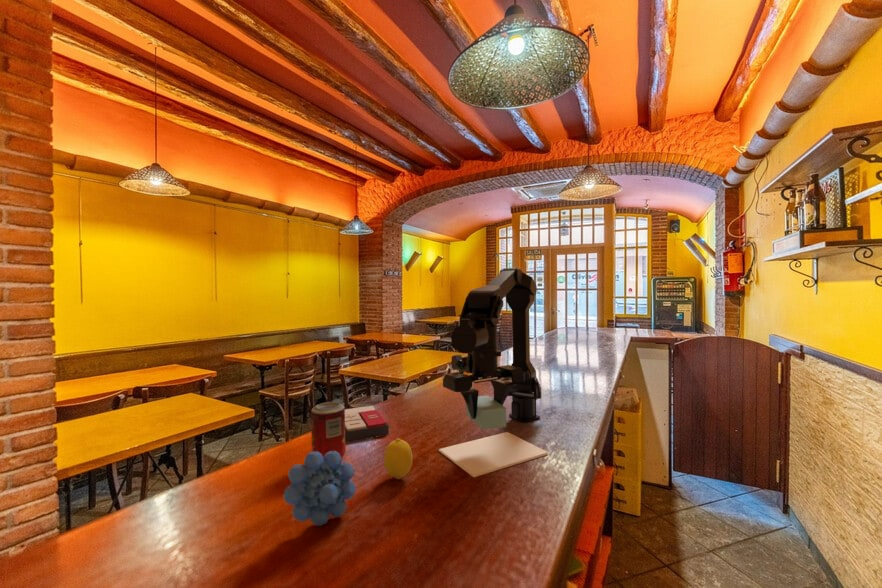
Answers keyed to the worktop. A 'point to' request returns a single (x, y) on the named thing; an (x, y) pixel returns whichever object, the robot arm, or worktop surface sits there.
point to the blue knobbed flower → (320, 487)
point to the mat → (491, 453)
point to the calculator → (364, 423)
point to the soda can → (328, 428)
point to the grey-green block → (489, 413)
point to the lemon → (398, 458)
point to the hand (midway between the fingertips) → (485, 415)
